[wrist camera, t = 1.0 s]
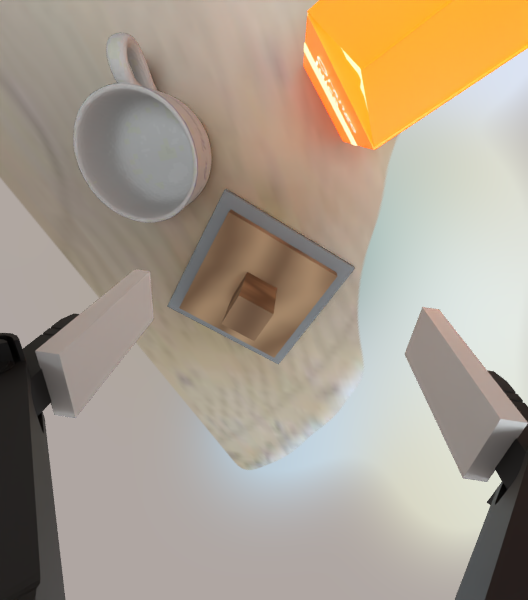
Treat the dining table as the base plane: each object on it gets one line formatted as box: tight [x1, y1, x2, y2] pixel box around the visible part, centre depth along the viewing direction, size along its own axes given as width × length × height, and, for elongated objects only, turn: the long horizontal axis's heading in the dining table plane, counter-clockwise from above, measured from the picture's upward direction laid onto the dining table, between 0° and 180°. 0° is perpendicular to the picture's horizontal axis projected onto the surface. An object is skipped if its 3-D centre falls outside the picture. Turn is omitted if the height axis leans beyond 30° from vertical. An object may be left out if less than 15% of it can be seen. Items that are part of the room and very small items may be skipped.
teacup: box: [73, 33, 212, 223], centre depth 29 cm, size 14×11×8 cm
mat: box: [167, 189, 355, 364], centre depth 39 cm, size 17×17×1 cm
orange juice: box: [303, 0, 528, 150], centre depth 20 cm, size 8×9×20 cm
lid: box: [179, 210, 337, 358], centre depth 36 cm, size 14×14×7 cm
